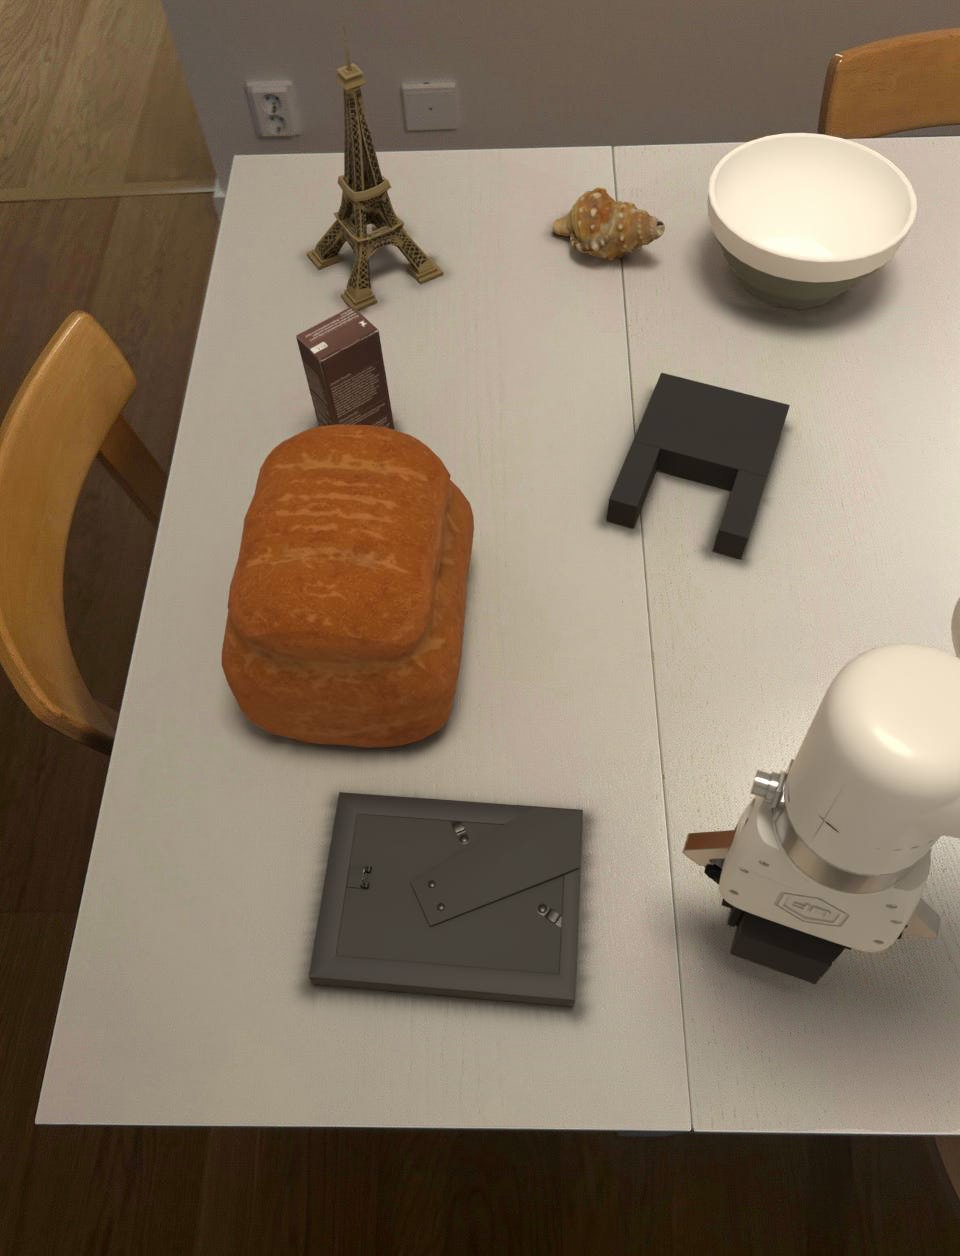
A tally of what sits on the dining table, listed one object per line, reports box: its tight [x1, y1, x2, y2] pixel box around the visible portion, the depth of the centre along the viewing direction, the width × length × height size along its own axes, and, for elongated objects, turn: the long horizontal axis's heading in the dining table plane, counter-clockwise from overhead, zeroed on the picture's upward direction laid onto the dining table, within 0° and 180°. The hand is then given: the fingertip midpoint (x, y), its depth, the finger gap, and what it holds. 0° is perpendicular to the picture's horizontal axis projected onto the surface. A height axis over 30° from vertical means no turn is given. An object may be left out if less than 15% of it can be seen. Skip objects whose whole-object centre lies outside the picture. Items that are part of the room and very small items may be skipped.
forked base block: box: [606, 372, 791, 560], centre depth 94 cm, size 12×16×3 cm
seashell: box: [552, 186, 666, 261], centre depth 110 cm, size 9×8×10 cm
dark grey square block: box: [729, 911, 836, 985], centre depth 68 cm, size 6×6×4 cm
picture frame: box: [308, 791, 584, 1008], centre depth 74 cm, size 13×2×18 cm
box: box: [295, 306, 396, 430], centre depth 94 cm, size 6×4×12 cm
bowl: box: [706, 132, 918, 310], centre depth 105 cm, size 20×20×10 cm
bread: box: [221, 424, 475, 748], centre depth 80 cm, size 18×21×17 cm
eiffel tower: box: [306, 22, 444, 312], centre depth 101 cm, size 11×11×25 cm
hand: (784, 920), depth 70 cm, fingers closed on dark grey square block, 5 cm apart
